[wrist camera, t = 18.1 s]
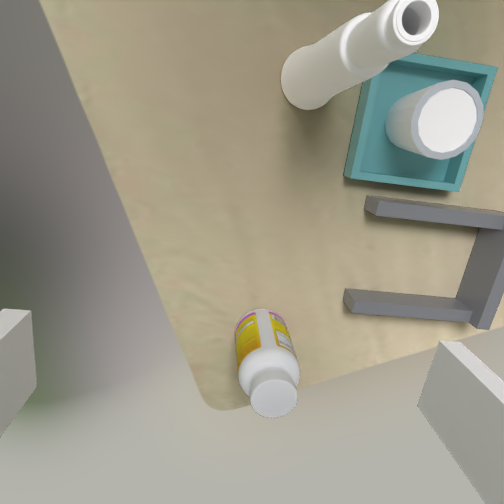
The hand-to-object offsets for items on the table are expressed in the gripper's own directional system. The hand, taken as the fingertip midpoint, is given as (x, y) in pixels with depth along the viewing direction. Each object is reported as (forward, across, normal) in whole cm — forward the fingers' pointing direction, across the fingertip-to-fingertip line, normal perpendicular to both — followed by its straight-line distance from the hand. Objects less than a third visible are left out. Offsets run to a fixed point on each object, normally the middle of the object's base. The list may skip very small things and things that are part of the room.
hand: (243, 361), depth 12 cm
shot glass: (+30, +19, +10) cm, 37 cm away
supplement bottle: (+31, +6, -17) cm, 36 cm away
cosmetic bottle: (+31, +7, +13) cm, 34 cm away
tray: (+31, +19, +10) cm, 37 cm away
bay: (+31, +24, -5) cm, 40 cm away
